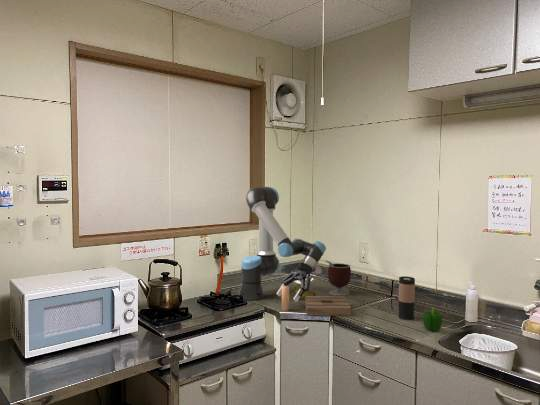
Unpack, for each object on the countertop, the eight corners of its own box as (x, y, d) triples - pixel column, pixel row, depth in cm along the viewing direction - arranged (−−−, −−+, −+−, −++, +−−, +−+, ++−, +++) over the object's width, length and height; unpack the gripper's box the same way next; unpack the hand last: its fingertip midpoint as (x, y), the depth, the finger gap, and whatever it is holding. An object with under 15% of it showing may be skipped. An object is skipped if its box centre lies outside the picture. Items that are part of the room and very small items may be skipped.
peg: (281, 308, 222) (281, 286, 222) (289, 308, 222) (289, 286, 222) (281, 310, 218) (281, 287, 218) (289, 310, 218) (289, 287, 218)
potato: (308, 302, 233) (308, 288, 233) (291, 298, 243) (291, 284, 242) (317, 300, 239) (317, 286, 239) (301, 295, 248) (301, 282, 248)
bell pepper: (435, 334, 184) (435, 312, 184) (419, 329, 191) (419, 307, 190) (446, 330, 189) (446, 308, 189) (429, 325, 196) (430, 304, 195)
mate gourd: (349, 290, 261) (350, 259, 260) (351, 296, 247) (352, 263, 247) (324, 289, 263) (325, 258, 262) (325, 295, 249) (325, 262, 248)
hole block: (305, 302, 233) (305, 295, 233) (344, 303, 232) (344, 296, 232) (307, 315, 211) (307, 307, 211) (350, 315, 210) (351, 307, 210)
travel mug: (401, 314, 213) (402, 275, 212) (416, 317, 208) (417, 277, 207) (395, 318, 207) (396, 278, 206) (410, 321, 202) (411, 280, 201)
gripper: (327, 274, 220) (306, 307, 211) (295, 266, 240) (275, 297, 231) (320, 265, 217) (298, 298, 208) (288, 258, 236) (267, 289, 227)
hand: (286, 298), depth 219 cm, fingers open, 13 cm apart
